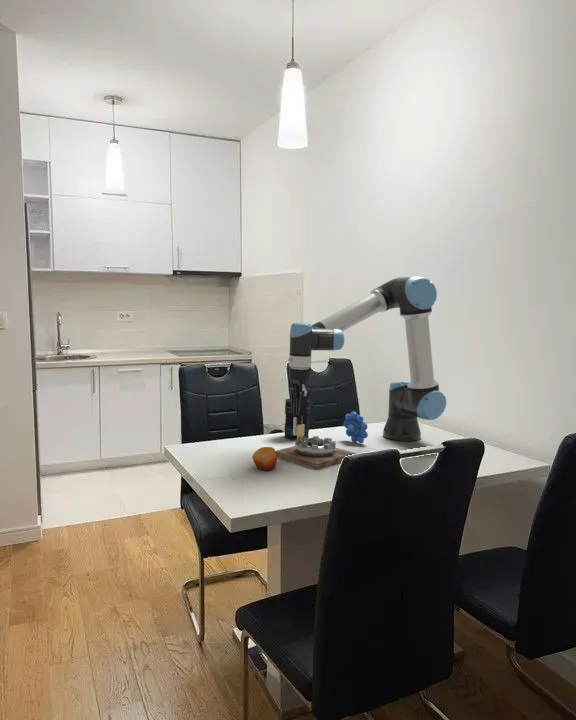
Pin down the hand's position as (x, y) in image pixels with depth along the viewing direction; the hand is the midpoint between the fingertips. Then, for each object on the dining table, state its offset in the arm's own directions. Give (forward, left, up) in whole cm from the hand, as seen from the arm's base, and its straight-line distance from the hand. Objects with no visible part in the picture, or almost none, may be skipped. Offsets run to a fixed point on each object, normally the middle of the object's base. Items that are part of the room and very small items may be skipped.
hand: (297, 434), depth 198 cm
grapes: (-30, +1, -8) cm, 31 cm away
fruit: (+19, +3, -8) cm, 20 cm away
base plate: (-3, +5, -8) cm, 10 cm away
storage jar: (-19, -19, -8) cm, 28 cm away
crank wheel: (-3, +5, -5) cm, 8 cm away
